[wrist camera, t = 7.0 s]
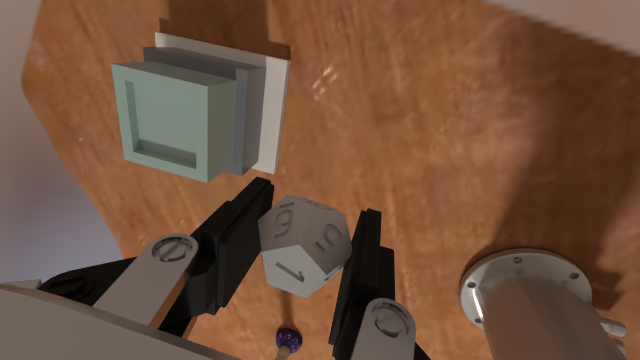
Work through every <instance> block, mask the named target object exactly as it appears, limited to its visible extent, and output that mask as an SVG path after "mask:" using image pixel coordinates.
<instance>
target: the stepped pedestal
mask: <svg viewBox="0 0 640 360" xmlns="http://www.w3.org/2000/svg"><path fill="white" fill-rule="evenodd" d="M155 40H156V47H143V54H144V62H132V63H113V64H111V65H112V72H113V80H114V87H115V94H116V101H117V108H118V116H119V123H120V130H121V137H122V144H123V151H124V159H125V160H128V161H131V162H135V163H138V164H142V165H145V166H149V167H153V168H156V169H160V170H163V171H167V172H170V173H174V174H177V175H181V176H185V177H188V178H192V179H195V180H199V181H202V182H206V183H208V182H209V181H211V180H212V179H213V178H215V177H216V176H218V175H219V174H220V173H222V172H223V171H226V172H229V173H233V174H237V175H240V176H242V175H243V174H244V173H246V172H247V171H248V170H249V169H250V168H253V169H256V170H260V171H264V172H268V173H271V174H275V173H276V172H277V168H278V160H279V152H280V144H281V136H282V128H283V120H284V112H285V104H286V96H287V88H288V79H289V71H290V63H291V61H290V60H286V59H281V58H277V57H272V56H267V55H263V54H258V53H253V52H249V51H244V50H240V49H235V48H230V47H226V46H221V45H216V44H212V43H207V42H203V41H198V40H193V39H189V38H184V37H179V36H175V35H170V34H166V33H159V32H155Z"/></svg>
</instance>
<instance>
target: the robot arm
mask: <svg viewBox="0 0 640 360" xmlns="http://www.w3.org/2000/svg"><path fill="white" fill-rule="evenodd" d="M273 193H274V185H272V184H271V181H270V180H267V179H264V178H260V177H256V178H255V179H254V180H253V181H252V182H251V183H250V184H249V185H248V186H247V187H246V188H244V189H243V190H242V191H241V192H240V193H239V194H238V195H237V196H236V197H235V198H234V199H233V200H232V201H226V202H225V203H224V204H223V205H221V206H220V207H219V208H218V209H217V210H216V211H215V212H214V213H213V214H212V215H211V216H210V217H209V218H208V219H207V220H206V221H205V222H204V223H203V224H202V225H201V226H199V227H198V228H197V229H196V230H195V231H194V232H193V233H192V234H191V235H190V236H188V235H185V234H168V235H164V236H161V237H159V238H157V239H155V240H154V241H152V242H151V243H150V244H149V245H148V246H147V247H146V248H145V249H144V251H143V252H142V253H141V254H140V255H139V256H138V257H133V258H128V259H124V260H119V261H114V262H109V263H105V264H100V265H95V266H91V267H86V268H82V269H77V270H72V271H68V272H65V273H62V274H59V275H57V276H55V277H52V278H50V279H49V280H47V281H46V282H45V283H42V282H41V280H40V279H38V280H27V281H16V282H5V283H0V360H242V359H239V358H236V357H234V356H231V355H228V354H225V353H222V352H220V351H217V350H214V349H211V348H208V347H206V346H203V345H200V344H197V343H194V342H192V341H189V340H187V338H188V336H189V334H190V332H191V330H192V328H193V326H194V324H195V322H196V320H197V317H198V316H199V315H202V314H204V313H208V314H211V315H214V316H215V314H216V313H217V311H218V309H219V308H220V307H223V308H224V307H226V305H227V304H228V302H229V301H230V299H231V297H232V296H233V294H234V293H235V291H236V289H237V288H238V286H239V285H240V283H241V281H242V280H243V278H244V277H245V275H246V273H247V272H248V270H249V269H250V267H251V265H252V264H253V262H254V261H255V259H256V257H257V256H258V254H259V253H260V251H261V242H260V234H259V227H258V220H259V219H260V218H261V217H262V216H263V215H265V214H266V213H267V212H268V211H269V210H270V209H271V207H272V200H273ZM380 235H381V212H380V211H376V210H373V209H369V208H368V209H367V211H363V210H362V211H361V213H360V217H359V220H358V223H357V226H356V229H355V232H354V236H353V239H352V242H351V245H352V253H351V257H350V258H349V260H348V262H347V264H346V265H345V266H344V269H343V274H342V278H341V283H340V288H339V293H338V298H337V303H336V308H335V312H334V317H333V322H332V327H331V332H330V337H329V342H328V344H331V345H334V348H333V353H332V356H333V357H335V360H431V359H430V358H429V357H428V356H427V355H426V353H425V352H424V351H423V350H422V349H421V348H420V346H419V345H418V344H417V343H416V342H415V335H416V327H415V322H414V320H413V317H412V316H411V314H410V313H409V312H408V310H407V309H406V308H404V307H403V306H402V305H401V304H399V303H397V302H396V301H395V272H394V250H393V249H389V248H386V247H383V246H380ZM459 299H460V303H461V306H462V309H463V311H464V313H465V314H466V316H467V317H468V319H469V320H470V321H471V322H472V323H473V324H475V325H476V326H478V327H479V328H481V329H482V330H484V332H485V335H486V338H487V341H488V344H489V347H490V350H491V353H492V356H493V359H494V360H628V359H627V358H626V357H625V355H626V348H625V346H624V344H623V343H622V342H621V341H620V340H618V339H615V338H611V337H610V336H609V334H612V335H616V336H620V337H623V336H625V335H626V333H627V329H626V327H625V325H624V324H623V323H621V322H617V321H614V320H611V319H606V318H602V317H601V316H600V315H599V313H598V312H597V311H596V309H595V308H594V307H593V306H592V304H591V301H592V289H591V286H590V283H589V281H588V279H587V278H586V276H585V275H584V274H583V272H582V271H581V270H580V269H579V268H578V267H577V266H576V265H575V264H574V263H572V262H571V261H570V260H568V259H567V258H565V257H563V256H560V255H558V254H556V253H553V252H549V251H546V250H541V249H532V248H517V249H510V250H504V251H501V252H497V253H494V254H491V255H489V256H487V257H485V258H483V259H481V260H480V261H478V262H477V263H475V264H474V265H473V266H472V267H471V268H470V269H469V270H468V271H467V272H466V273H465V275H464V276H463V278H462V280H461V283H460V286H459ZM608 333H609V334H608Z"/></svg>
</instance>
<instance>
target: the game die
mask: <svg viewBox="0 0 640 360" xmlns="http://www.w3.org/2000/svg"><path fill="white" fill-rule="evenodd" d="M258 227H259V234H260V242H261V250H262V256H263V262H264V268H265V273H266V279H267V284H268V285H271V286H273V287H276V288H279V289H282V290H284V291H287V292H290V293H292V294H295V295H298V296H301V297H303V298H306V297H308V296H309V295H311V294H312V293H314V292H315V291H317V290H319V289H320V288H321V287H322V286H323V285H324V284H326V283H327V282H328V281H329V280H330V279H331V278H332V277H333V276H334V275H335V274H336V273H338V272H339V271H340V270H341V269H342V268H343V267H344V266H345V265H346V264H347V262H348V260H349V258H350V257H351V253H352V245H351V240H350V235H349V230H348V226H347V221H346V216H345V215H344V214H343V213H341V212H340V211H338V210H337V209H335V208H333V207H330V206H327V205H324V204H321V203H318V202H315V201H312V200H309V199H306V198H304V197H297V196H289V195H287V196H286V197H284V198H283V199H282V200H281V201H280V202H279V203H277V204H276V205H275V206H274V207H273V208H272V209H270V210H269V211H268V212H267V213H266V214H265V215H263V216H262V217H261V218H260V219H259V220H258Z"/></svg>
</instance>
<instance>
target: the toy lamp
mask: <svg viewBox="0 0 640 360" xmlns="http://www.w3.org/2000/svg"><path fill="white" fill-rule="evenodd" d="M276 344H277V346H278V348H279V351H278V354H277V357H276V359H275V360H287V359H288V358H289V355H290V354H291V353H295V352H296V351H298V350H299V348H300V347H301V345H302V339H301V337H300V336H299V334H297V333H296V332H294V331H292V330H288V329H282V330H279V331H278V332H277V334H276Z"/></svg>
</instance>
